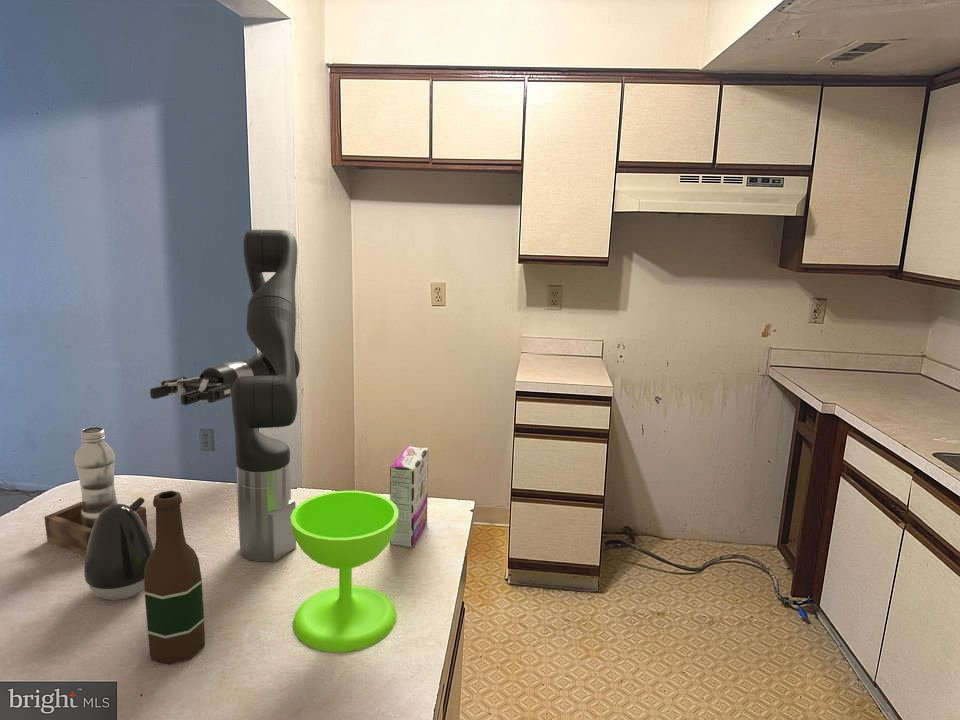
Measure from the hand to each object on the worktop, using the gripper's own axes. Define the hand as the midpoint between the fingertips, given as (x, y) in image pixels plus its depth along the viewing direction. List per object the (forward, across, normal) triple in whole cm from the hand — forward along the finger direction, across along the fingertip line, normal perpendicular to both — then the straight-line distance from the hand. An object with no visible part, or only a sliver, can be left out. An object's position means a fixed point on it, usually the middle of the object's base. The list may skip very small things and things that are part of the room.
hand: (166, 397), depth 130 cm
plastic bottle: (+15, -2, +23) cm, 27 cm away
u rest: (+15, -2, +24) cm, 28 cm away
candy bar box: (-14, +48, +24) cm, 56 cm away
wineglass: (+14, +53, +25) cm, 60 cm away
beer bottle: (+31, +36, +25) cm, 54 cm away
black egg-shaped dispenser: (+25, +17, +25) cm, 39 cm away
